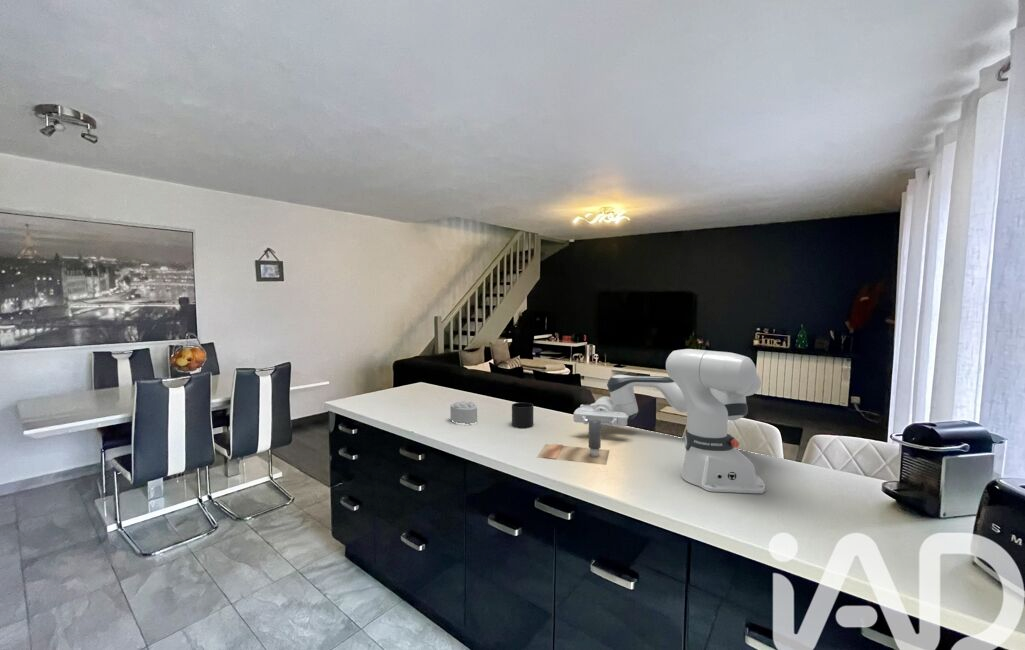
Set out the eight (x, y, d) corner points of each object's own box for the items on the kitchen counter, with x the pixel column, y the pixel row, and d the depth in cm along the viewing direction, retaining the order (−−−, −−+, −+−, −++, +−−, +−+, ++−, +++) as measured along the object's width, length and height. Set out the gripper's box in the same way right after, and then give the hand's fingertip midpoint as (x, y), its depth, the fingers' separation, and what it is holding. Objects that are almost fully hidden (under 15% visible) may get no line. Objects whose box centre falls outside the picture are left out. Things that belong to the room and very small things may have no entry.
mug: (541, 423, 189) (541, 403, 188) (524, 429, 179) (524, 408, 179) (524, 419, 195) (524, 400, 194) (507, 425, 185) (507, 405, 185)
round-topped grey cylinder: (601, 454, 146) (601, 419, 145) (599, 458, 142) (600, 422, 141) (589, 453, 147) (589, 418, 146) (587, 457, 143) (588, 421, 143)
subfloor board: (609, 454, 150) (609, 449, 150) (606, 469, 137) (606, 463, 137) (545, 448, 157) (545, 443, 157) (536, 461, 143) (536, 456, 143)
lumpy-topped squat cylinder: (466, 416, 200) (466, 398, 200) (482, 422, 190) (482, 403, 190) (447, 420, 194) (447, 401, 194) (463, 427, 184) (462, 407, 183)
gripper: (628, 423, 167) (627, 434, 154) (576, 419, 173) (571, 429, 160) (629, 407, 167) (627, 416, 154) (576, 404, 173) (571, 412, 160)
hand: (598, 423), depth 157 cm, fingers open, 8 cm apart
